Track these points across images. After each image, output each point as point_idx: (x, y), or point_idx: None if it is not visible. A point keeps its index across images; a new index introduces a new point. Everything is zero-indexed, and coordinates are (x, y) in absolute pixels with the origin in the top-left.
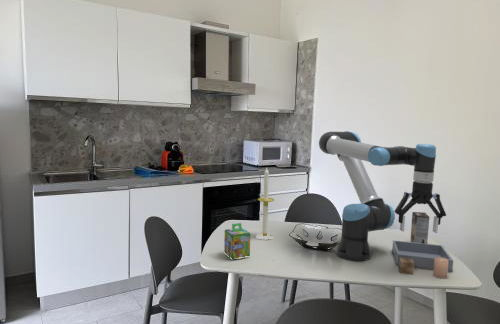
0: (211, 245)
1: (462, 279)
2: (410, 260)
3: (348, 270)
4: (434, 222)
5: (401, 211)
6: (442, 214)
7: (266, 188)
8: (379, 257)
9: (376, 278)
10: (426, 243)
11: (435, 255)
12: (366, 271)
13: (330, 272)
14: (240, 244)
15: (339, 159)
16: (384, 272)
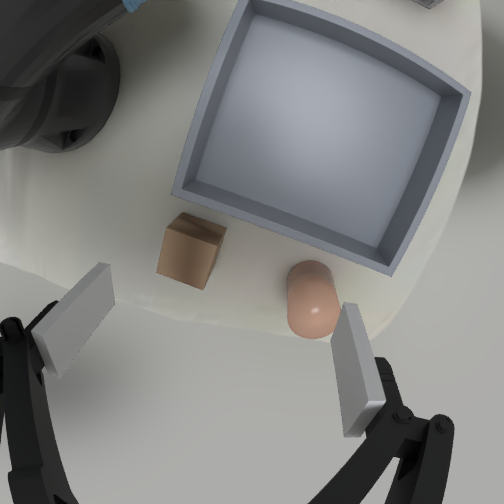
0: None
1: (364, 309)
2: (199, 263)
3: (39, 225)
4: (350, 370)
5: (13, 362)
6: (405, 453)
7: None
8: (150, 95)
9: None
10: (436, 1)
11: (419, 98)
12: (76, 234)
13: (10, 237)
14: None
15: None
16: (123, 243)
